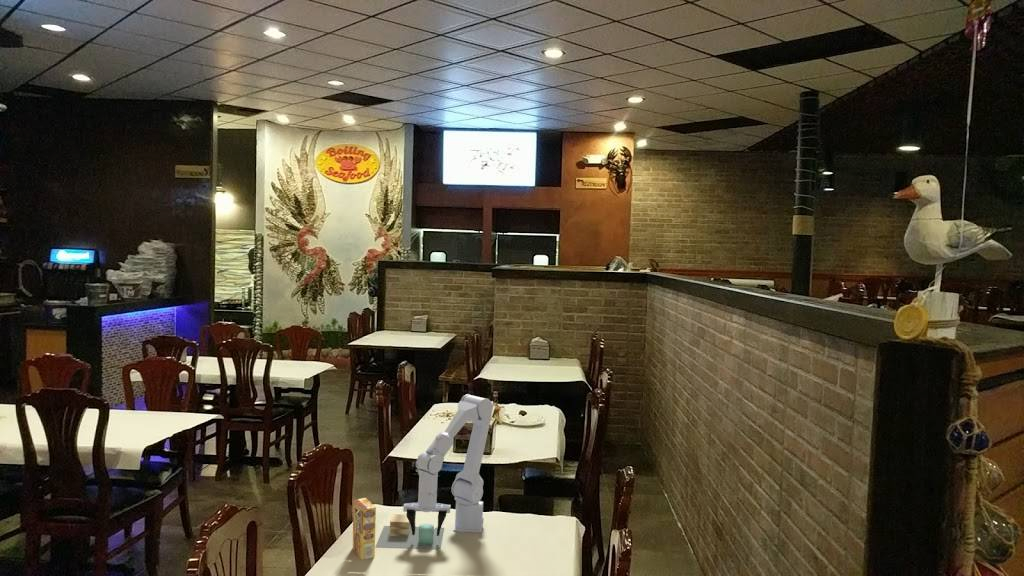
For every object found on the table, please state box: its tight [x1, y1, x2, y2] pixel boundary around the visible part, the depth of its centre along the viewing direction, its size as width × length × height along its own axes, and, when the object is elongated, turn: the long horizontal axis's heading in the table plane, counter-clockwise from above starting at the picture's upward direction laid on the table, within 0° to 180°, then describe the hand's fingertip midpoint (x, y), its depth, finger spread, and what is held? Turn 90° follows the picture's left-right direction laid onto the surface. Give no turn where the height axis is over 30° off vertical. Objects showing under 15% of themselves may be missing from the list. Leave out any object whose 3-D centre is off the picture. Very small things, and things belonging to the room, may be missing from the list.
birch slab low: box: [390, 525, 411, 536], centre depth 206 cm, size 6×6×2 cm
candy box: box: [352, 497, 377, 561], centre depth 191 cm, size 9×4×15 cm, turn 33°
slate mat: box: [375, 525, 445, 550], centre depth 203 cm, size 20×16×1 cm
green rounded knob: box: [418, 523, 435, 546], centre depth 200 cm, size 5×5×5 cm
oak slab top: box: [389, 514, 410, 529], centre depth 206 cm, size 6×6×2 cm
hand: (425, 534), depth 199 cm, fingers open, 7 cm apart
